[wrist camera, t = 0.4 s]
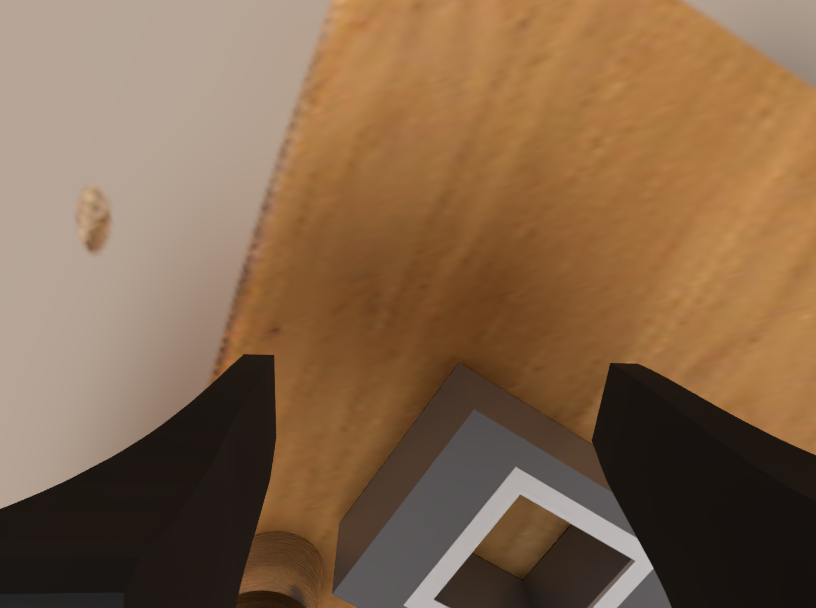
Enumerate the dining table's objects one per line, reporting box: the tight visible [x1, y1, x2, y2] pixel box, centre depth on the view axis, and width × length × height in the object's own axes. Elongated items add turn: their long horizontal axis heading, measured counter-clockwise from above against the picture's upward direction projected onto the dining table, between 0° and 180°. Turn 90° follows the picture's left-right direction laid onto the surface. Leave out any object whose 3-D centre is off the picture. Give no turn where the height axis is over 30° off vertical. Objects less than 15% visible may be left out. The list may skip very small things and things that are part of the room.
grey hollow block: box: [332, 363, 672, 608], centre depth 24 cm, size 9×12×4 cm
